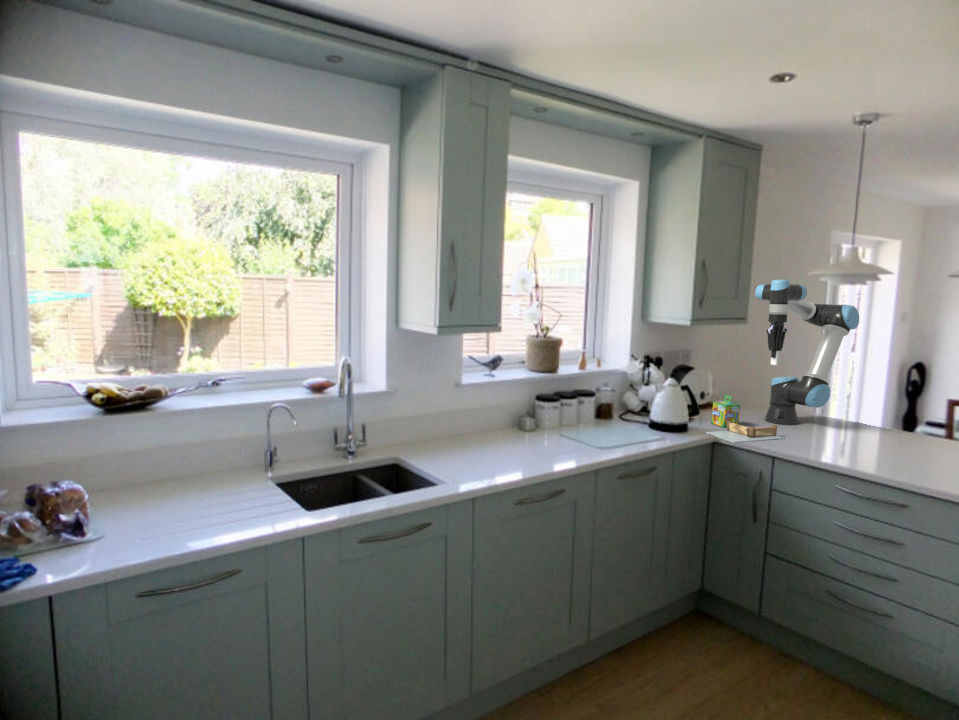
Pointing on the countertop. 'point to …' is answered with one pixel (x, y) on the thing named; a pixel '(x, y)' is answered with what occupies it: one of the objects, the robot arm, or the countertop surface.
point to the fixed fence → (762, 431)
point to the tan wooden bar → (737, 428)
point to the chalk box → (725, 412)
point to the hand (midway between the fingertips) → (774, 364)
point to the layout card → (741, 436)
